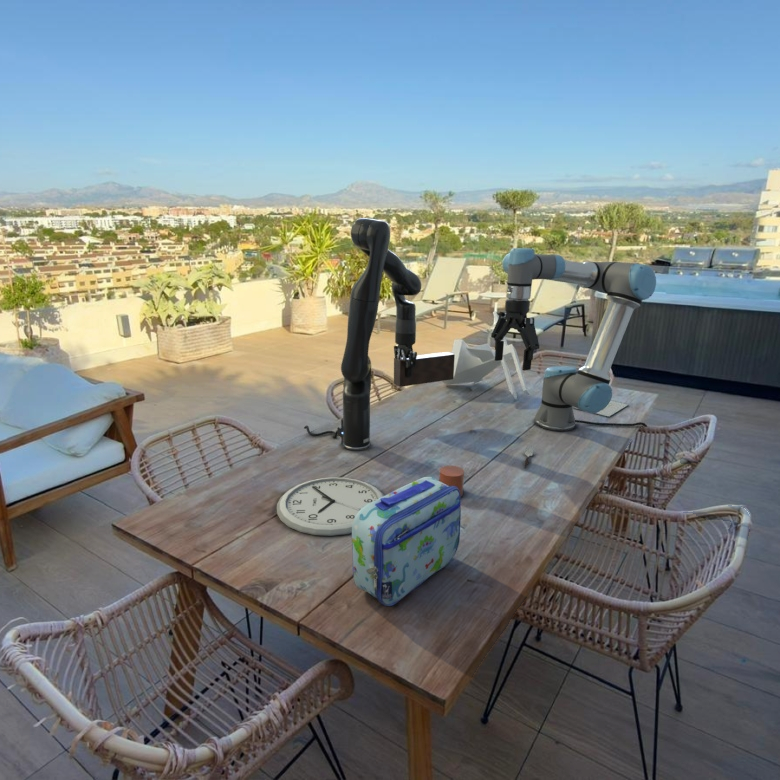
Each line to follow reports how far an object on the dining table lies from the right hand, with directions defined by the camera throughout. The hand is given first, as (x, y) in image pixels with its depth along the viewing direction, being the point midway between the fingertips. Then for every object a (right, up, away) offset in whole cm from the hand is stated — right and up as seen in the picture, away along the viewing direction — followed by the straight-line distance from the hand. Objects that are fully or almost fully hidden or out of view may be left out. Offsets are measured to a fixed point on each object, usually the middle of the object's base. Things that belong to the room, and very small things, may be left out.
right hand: (512, 365), depth 170 cm
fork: (+6, -31, +3) cm, 32 cm away
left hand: (-34, -3, +27) cm, 44 cm away
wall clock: (-55, -40, -27) cm, 73 cm away
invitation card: (+52, -15, +56) cm, 78 cm away
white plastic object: (+2, -9, +73) cm, 74 cm away
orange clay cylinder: (-22, -38, -19) cm, 48 cm away
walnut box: (-27, -5, +32) cm, 42 cm away
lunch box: (-36, -49, -56) cm, 83 cm away
